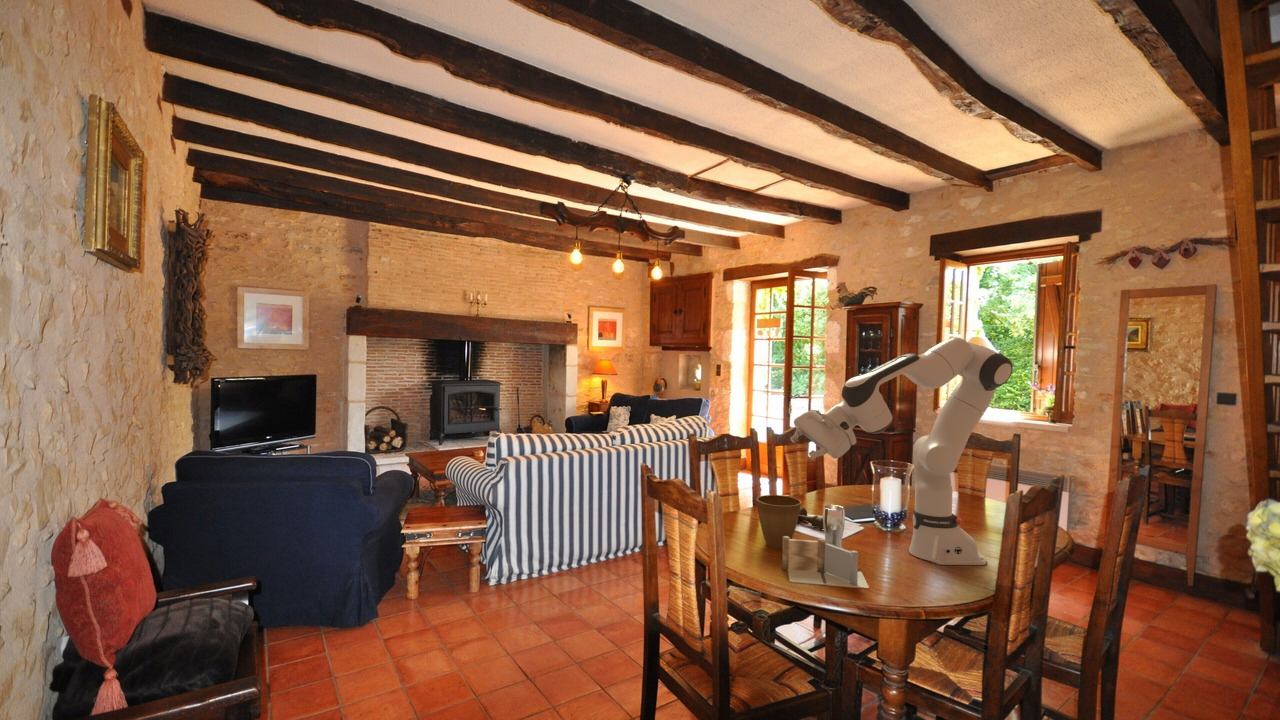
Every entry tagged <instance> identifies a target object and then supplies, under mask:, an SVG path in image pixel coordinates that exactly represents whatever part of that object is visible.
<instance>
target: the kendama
mask: <svg viewBox="0 0 1280 720" xmlns="http://www.w3.org/2000/svg"><path fill="white" fill-rule="evenodd" d="M798 519H799V521H802V520H803V521H805V522H807V523H808V524H810V525H811V526H812V527H813V526H817V528H819V529H820V530H821V529H824V527H823V517H819V516H818V515H814V516H810V515H809V516H808V510H807V509H806V508H805V507H803V506H802V505H801V506H800V512H799V517H798Z"/></svg>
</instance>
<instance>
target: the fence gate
mask: <svg viewBox="0 0 1280 720" xmlns="http://www.w3.org/2000/svg"><path fill="white" fill-rule="evenodd" d="M858 566H859V551H857V550H848V549H845V548H843V547H842V548H839V547H836V546H834V545H831V544H828V543H827V544H825V563H824V572H827V573H829V574H832V575H834V576H837V577H839V578H842V579H844V580H847V581H849V582H850V583H851V584H853V585H857V582H858V569H859V567H858Z"/></svg>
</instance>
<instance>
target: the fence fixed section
mask: <svg viewBox="0 0 1280 720" xmlns="http://www.w3.org/2000/svg"><path fill="white" fill-rule="evenodd" d="M825 544H826V539H825V538H823V537H821V538H817V540H809V539H796V538H792V539H789V537H788V536H783V549H782V557H781V558H782V567H781V568H782V570H783V571H788V569H792V570H805V571H819V572H824V563H825Z"/></svg>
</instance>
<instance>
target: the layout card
mask: <svg viewBox="0 0 1280 720" xmlns="http://www.w3.org/2000/svg"><path fill="white" fill-rule="evenodd" d="M787 573H788V579H789V583H793V584H805V585H815V586H817V585H818V586H827V587H829V586H830V587H831V586H832V587H843V588H855V589H865V590H867V589H868V590H869V589H870V586H869V585H868V583H867V580H866V578H865V577H864V574H863V572H862V571H858V582H857V585H853V584H851V583H850V582H849V581H847V580H844V579H842V578H839V577H837V576H834V575H832V574H829V573H827V572H819V571H805V570H792V569H788V570H787Z"/></svg>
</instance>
